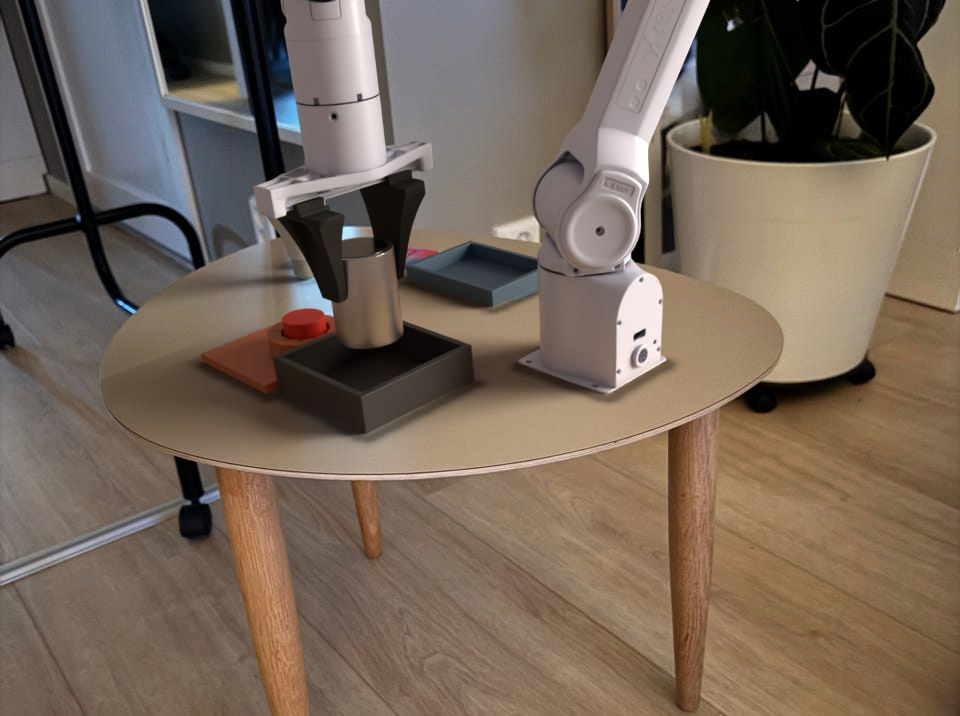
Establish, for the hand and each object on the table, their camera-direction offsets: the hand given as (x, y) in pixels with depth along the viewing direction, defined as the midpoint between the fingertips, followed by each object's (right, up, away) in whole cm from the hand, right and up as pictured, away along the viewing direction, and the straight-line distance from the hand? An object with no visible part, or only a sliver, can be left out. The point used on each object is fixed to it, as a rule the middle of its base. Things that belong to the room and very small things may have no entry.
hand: (364, 287), depth 72 cm
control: (-9, -4, +10) cm, 14 cm away
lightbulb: (-9, +6, +28) cm, 30 cm away
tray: (+9, +5, +23) cm, 26 cm away
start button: (-6, -2, +9) cm, 11 cm away
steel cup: (0, -3, +2) cm, 4 cm away
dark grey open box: (0, -7, +5) cm, 9 cm away
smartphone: (-3, +9, +30) cm, 32 cm away
